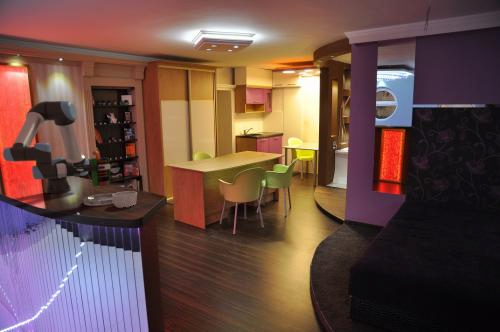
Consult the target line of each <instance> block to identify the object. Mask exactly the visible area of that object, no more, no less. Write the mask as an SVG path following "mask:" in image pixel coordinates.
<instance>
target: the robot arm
mask: <svg viewBox="0 0 500 332" xmlns="http://www.w3.org/2000/svg"><path fill="white" fill-rule="evenodd" d="M77 118H78V111H77V108H76V106H75V104H74V103H73V102H71V101H70V100H69V101H67V100H66V101H65V100H59V101H55V100H54V101H53V100H51V101H50V100H49V101H47V100H46V101H45V100H44V101H40V102H38V103H36V104H35V105H33V106H32V107H31V108H30V109H29V110H28V111H27V113H26V114H25V121H24V123H23V124H22V126H21V129H20V130H19V132H18V134H17V136H16V138H15V140H14V143H12V145H11V146H8V147H5V148H4V149H3V151H2V156H3V159H4V160H5V161H6V162H11V163H12V162H13V163H14V162H15V163H16V162H17V163H18V162H35V165H32V167H31V171H32V172H31V173H32V178H33V180H47V182H46V186H45V194H47V193H55V194H54V195H56V194H63V193H68V192H71V188H72V187H71V184H70V183H69V181H68V177H77V176H78V177H82V176H87V175H88V173H89V172H91V171H99V170H104V169H110V170H111V164H110V163H109V164H107V165H97V166H91V163H90V159H89V158H86V156H85V155H84V154H83V153H82V151H81V147H80V145H79V140H78V136H77V132H76V129H75V125H74V124H75V122H76V120H77ZM46 121H49V122H50V121H53V122H54V124H55V126H57V127H58V130H59V132H60V136H61V140H62V144H63V147H64V149H65V153H66V157H65V156H61V157H57V158H56V157H54V158H53V157H52V149H51V144H50V143H49V142H37V143H36V142H35V143H34V144H33V146H32V143H33V141H34V140H35V138H36V135H37V133H38V131H39V128H40V127H41V126H42V125H43V124H44V122H46Z"/></svg>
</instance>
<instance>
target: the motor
mask: <svg viewBox="0 0 500 332" xmlns="http://www.w3.org/2000/svg"><path fill="white" fill-rule="evenodd" d="M92 156H95V157H93V158H90V164H91V166H97V165H107V164H110V158H109V157H101V154H100V151H97V150H95V151H94V150H93V151H92ZM90 172H91V184H92V187H100V186H108V185H110V184H111V168H110V169H104V170H99V171H90Z"/></svg>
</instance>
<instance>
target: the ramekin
mask: <svg viewBox="0 0 500 332" xmlns="http://www.w3.org/2000/svg"><path fill="white" fill-rule="evenodd" d="M112 194H113V195H112V198H113V201H114V206H115V208H119V209H124V208H123V207H126V208H131V207H134V206H136V204H137V197H138V192H137V191H134V190H128V191H126V190H125V191H119V192H118V191H117V192H116V193H112ZM133 205H134V206H133ZM130 206H131V207H130Z"/></svg>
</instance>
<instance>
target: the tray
mask: <svg viewBox="0 0 500 332" xmlns="http://www.w3.org/2000/svg"><path fill="white" fill-rule="evenodd" d="M113 194H114V193H99V194H98V193H97V194H93V195H89V196H86V197H84V198H82V202H83V204H84V206H88V207H100V206H101V207H102V206H103V207H104V206H108V205H113V204H114V201H113V198H112V195H113Z"/></svg>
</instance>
